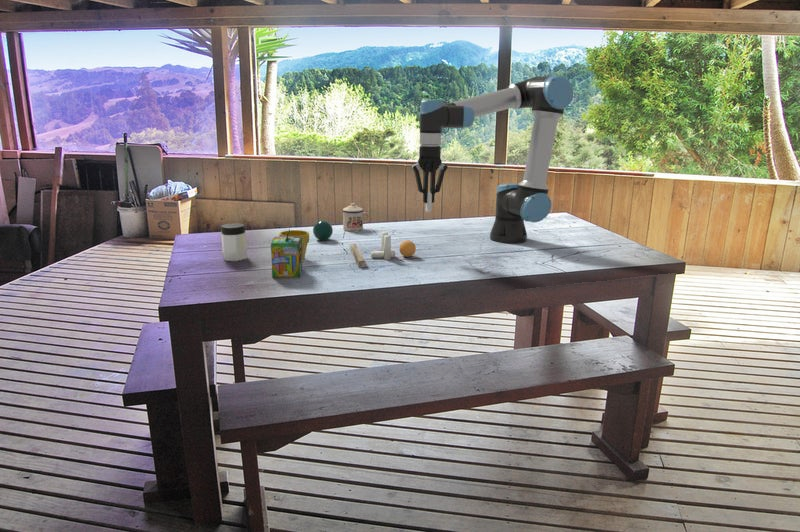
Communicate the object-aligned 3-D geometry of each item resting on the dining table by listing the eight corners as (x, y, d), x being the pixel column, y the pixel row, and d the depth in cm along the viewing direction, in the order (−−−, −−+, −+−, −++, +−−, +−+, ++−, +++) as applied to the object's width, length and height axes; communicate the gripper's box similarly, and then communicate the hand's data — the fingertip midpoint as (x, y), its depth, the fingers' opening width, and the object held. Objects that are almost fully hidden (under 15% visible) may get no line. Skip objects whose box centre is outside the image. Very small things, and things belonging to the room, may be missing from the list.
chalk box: (275, 269, 190) (273, 226, 186) (303, 269, 191) (301, 226, 187) (271, 278, 181) (268, 232, 177) (300, 277, 182) (298, 232, 178)
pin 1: (387, 254, 211) (387, 232, 209) (388, 256, 209) (388, 233, 206) (380, 254, 210) (380, 232, 208) (382, 256, 208) (382, 233, 206)
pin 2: (389, 258, 206) (390, 235, 204) (391, 259, 204) (391, 236, 202) (383, 258, 206) (383, 235, 203) (384, 260, 203) (384, 236, 201)
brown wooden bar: (355, 249, 217) (355, 243, 216) (364, 267, 194) (364, 260, 193) (350, 250, 216) (350, 243, 215) (359, 267, 194) (359, 260, 193)
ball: (397, 239, 208) (398, 254, 211) (401, 244, 203) (401, 260, 205) (413, 237, 210) (413, 252, 212) (417, 242, 204) (417, 258, 207)
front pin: (394, 249, 208) (371, 250, 206) (395, 252, 206) (372, 253, 204) (393, 255, 209) (370, 256, 207) (395, 258, 207) (371, 259, 205)
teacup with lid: (346, 232, 245) (345, 205, 242) (340, 228, 253) (340, 202, 250) (372, 230, 249) (372, 204, 246) (366, 226, 258) (365, 200, 254)
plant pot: (306, 254, 209) (305, 228, 206) (312, 262, 200) (312, 234, 197) (278, 257, 205) (276, 230, 203) (283, 264, 196) (282, 237, 193)
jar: (249, 260, 201) (247, 226, 198) (225, 262, 198) (223, 228, 194) (244, 254, 209) (242, 222, 205) (221, 256, 205) (218, 223, 202)
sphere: (331, 242, 227) (331, 222, 225) (311, 242, 228) (311, 222, 225) (334, 237, 235) (333, 218, 233) (314, 237, 235) (314, 218, 233)
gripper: (445, 144, 204) (442, 209, 211) (409, 144, 201) (408, 210, 208) (451, 146, 197) (448, 213, 204) (414, 146, 194) (413, 214, 201)
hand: (428, 211), depth 206 cm, fingers closed
